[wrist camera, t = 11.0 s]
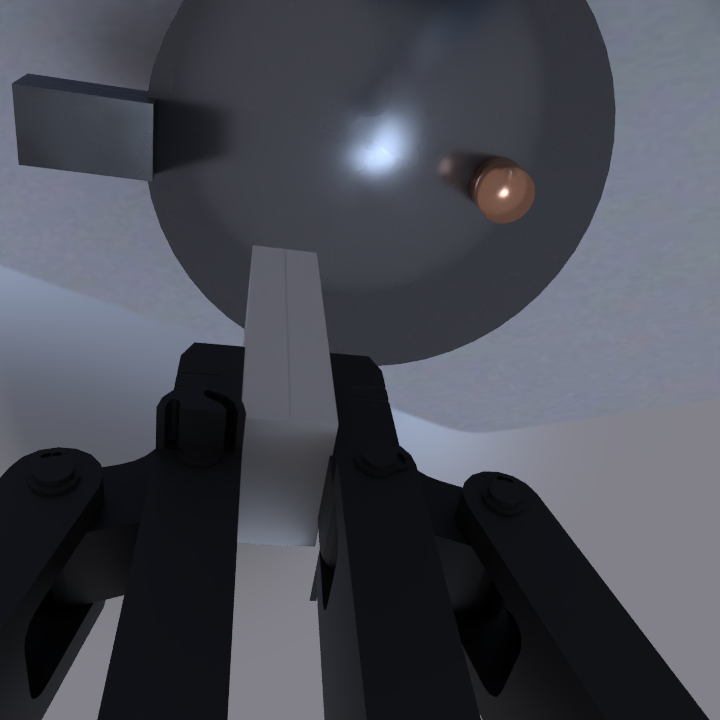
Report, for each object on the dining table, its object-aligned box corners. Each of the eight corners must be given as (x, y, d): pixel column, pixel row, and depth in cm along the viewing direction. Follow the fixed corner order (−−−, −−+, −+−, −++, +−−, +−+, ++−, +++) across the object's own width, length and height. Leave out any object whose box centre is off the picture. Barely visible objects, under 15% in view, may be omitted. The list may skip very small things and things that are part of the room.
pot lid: (9, -200, 23) (-21, -214, 20) (676, -56, 27) (714, -54, 25) (48, 326, 33) (31, 357, 31) (528, 368, 37) (545, 398, 35)
